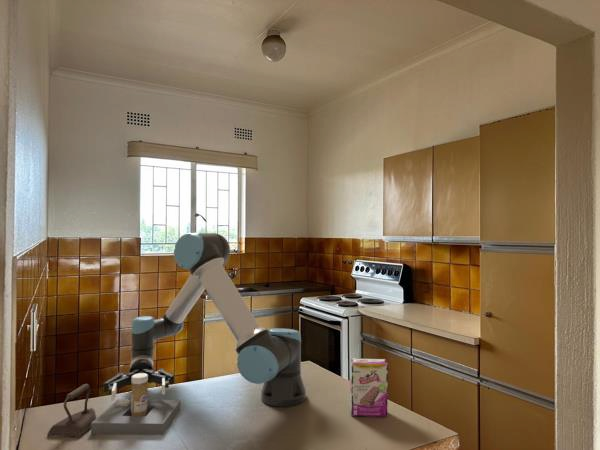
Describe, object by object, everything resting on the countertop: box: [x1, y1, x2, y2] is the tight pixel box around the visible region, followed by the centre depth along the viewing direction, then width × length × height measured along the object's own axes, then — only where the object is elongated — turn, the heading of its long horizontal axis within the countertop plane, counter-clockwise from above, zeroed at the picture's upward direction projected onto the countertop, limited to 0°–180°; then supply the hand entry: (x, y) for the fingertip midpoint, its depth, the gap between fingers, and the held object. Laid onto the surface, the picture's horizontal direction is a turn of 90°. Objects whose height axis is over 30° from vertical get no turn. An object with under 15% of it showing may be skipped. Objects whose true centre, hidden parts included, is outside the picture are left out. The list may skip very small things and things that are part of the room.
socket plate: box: [90, 399, 182, 436], centre depth 119 cm, size 20×16×4 cm
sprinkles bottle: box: [130, 373, 148, 416], centre depth 119 cm, size 5×5×14 cm
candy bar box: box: [349, 357, 389, 418], centre depth 125 cm, size 11×5×16 cm, turn 89°
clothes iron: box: [47, 383, 97, 439], centre depth 116 cm, size 14×10×11 cm
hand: (138, 392), depth 116 cm, fingers open, 13 cm apart
